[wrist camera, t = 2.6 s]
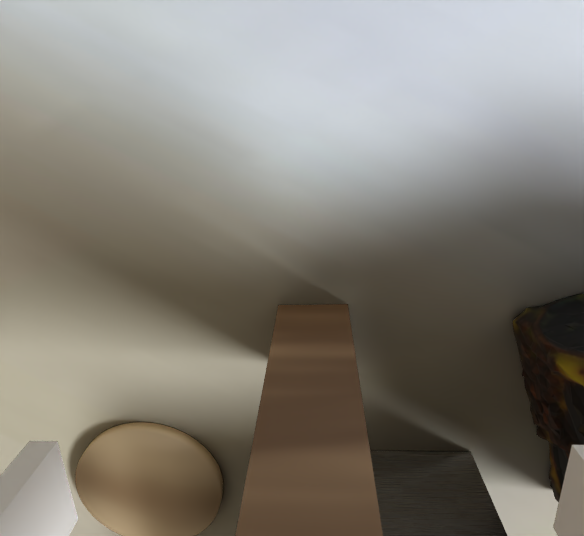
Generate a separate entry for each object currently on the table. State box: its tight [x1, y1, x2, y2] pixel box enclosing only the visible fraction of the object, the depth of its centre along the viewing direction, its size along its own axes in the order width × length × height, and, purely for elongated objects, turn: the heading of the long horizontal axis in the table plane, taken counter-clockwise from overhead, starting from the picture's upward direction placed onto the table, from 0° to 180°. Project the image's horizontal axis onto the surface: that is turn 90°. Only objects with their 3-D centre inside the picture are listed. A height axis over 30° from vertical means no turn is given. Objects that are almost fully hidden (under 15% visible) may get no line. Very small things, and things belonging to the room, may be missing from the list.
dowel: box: [235, 304, 383, 536], centre depth 11 cm, size 3×3×16 cm
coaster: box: [75, 422, 223, 536], centre depth 21 cm, size 7×7×1 cm
